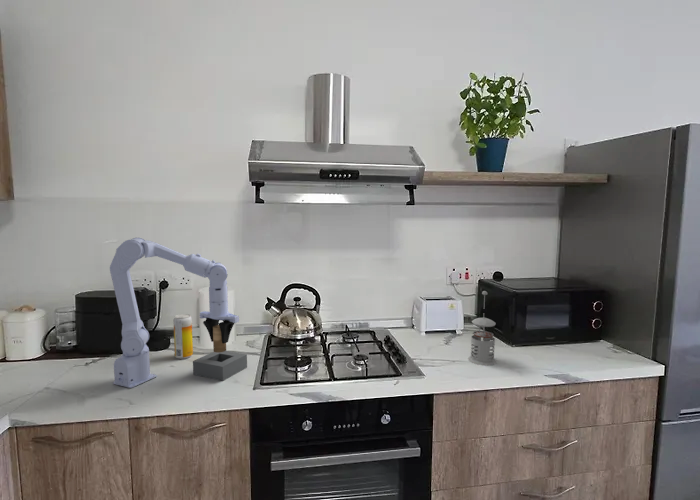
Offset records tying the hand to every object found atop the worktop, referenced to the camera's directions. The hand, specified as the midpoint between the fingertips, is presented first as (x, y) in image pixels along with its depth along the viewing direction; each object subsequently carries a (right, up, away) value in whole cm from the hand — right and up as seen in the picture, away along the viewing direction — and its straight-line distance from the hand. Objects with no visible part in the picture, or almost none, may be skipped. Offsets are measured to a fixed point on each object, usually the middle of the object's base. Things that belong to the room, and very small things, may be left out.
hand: (219, 341), depth 134 cm
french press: (+90, -9, +13) cm, 91 cm away
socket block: (0, -10, +1) cm, 10 cm away
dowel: (0, -3, 0) cm, 3 cm away
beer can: (-17, -9, +14) cm, 24 cm away
